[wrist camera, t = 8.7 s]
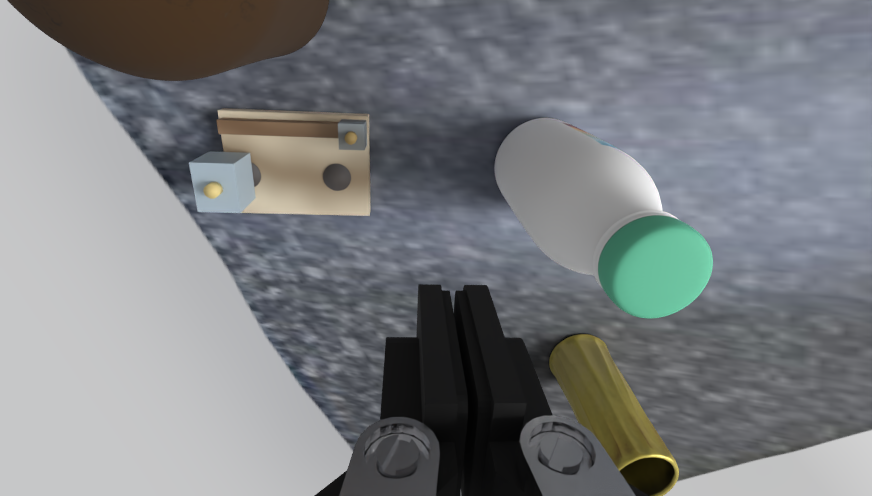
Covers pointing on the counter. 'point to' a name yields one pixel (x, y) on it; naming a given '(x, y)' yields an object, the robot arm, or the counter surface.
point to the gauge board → (302, 159)
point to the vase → (613, 413)
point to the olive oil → (177, 32)
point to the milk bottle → (601, 217)
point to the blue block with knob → (222, 181)
